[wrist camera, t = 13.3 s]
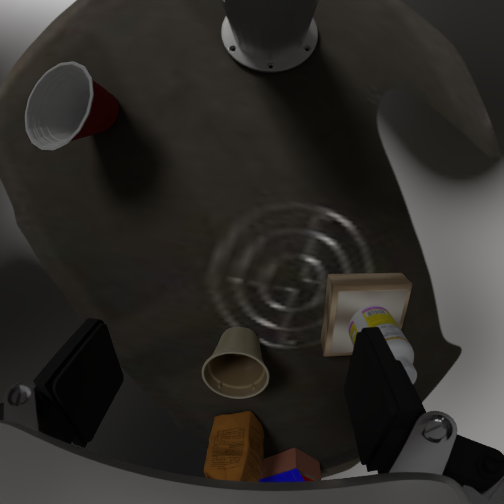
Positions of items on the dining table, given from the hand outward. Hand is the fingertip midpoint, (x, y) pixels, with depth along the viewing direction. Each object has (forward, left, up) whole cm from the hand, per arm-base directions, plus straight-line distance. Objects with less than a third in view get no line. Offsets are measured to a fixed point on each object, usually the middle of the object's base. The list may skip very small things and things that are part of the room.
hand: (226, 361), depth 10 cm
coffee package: (+46, -4, -31) cm, 55 cm away
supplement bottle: (+16, +16, -26) cm, 35 cm away
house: (+66, +4, -31) cm, 73 cm away
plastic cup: (-15, -22, -31) cm, 40 cm away
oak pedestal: (+16, +16, -30) cm, 38 cm away
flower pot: (+22, -3, -31) cm, 38 cm away
